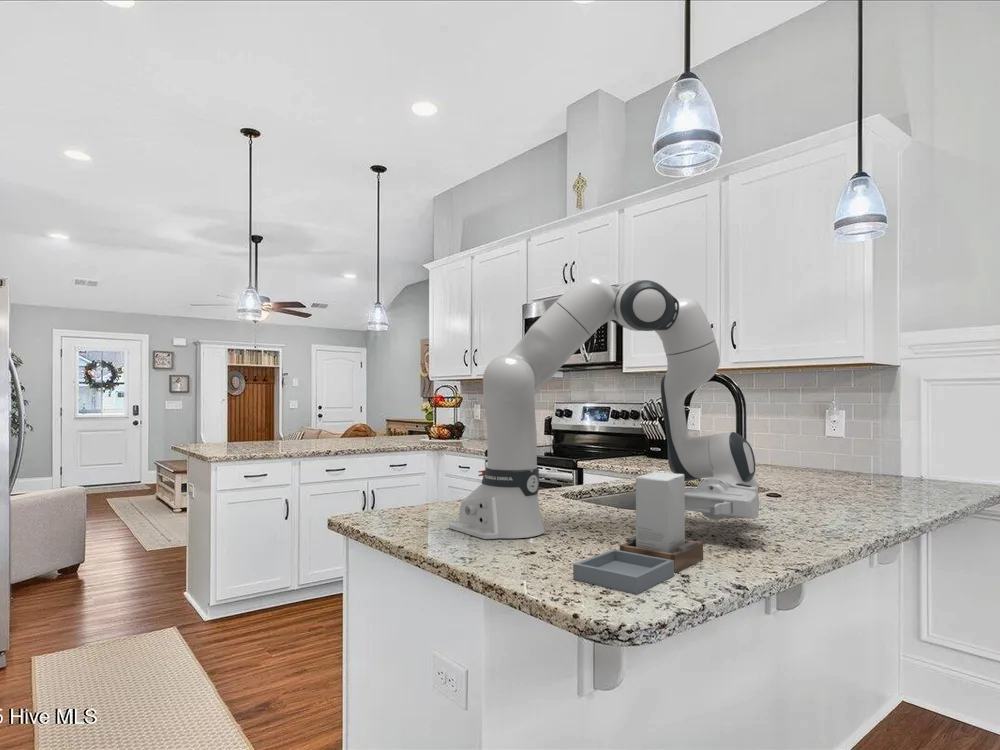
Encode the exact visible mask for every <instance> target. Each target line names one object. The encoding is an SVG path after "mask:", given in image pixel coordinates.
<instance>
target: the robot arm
mask: <svg viewBox="0 0 1000 750" xmlns="http://www.w3.org/2000/svg"><path fill="white" fill-rule="evenodd" d="M608 322H612V323H614V324H616V325H618V326H619V327H622V328H625V329H627V330H629V331H633V332H634V331H635V332H652V331H653V332H655V333H656V335H658V337H659V338H660V341H661V342H662V347H663V349H664V352H665V357H666V362H667V363H666V364H667V370H666V373H665V375H663V376H662V378H661V380H660V397H661V398H660V399H661V405H662V411H663V419H664V427H665V433H666V439H667V461H668V465H669V469H670V471H671V473H675V474H684V482H691V481H697V480H701V479H703V480H702V481H701V482H700V483H698V484H697V486H696V488H695V489H694V488H686V487H684V497H685V511H690V512H698V513H701V514H702V515H703V516H704V517H706V518H708V519H710V520H714V521H720V520H724V519H727V520H729V519H736V518H737V519H747V520H749V519H752V520H753V519H757V518H759V513H760V512H759V510H760V499H759V485H758V482H757V480H756V478H755V477H754V476H755V474H756V460H755V459H756V458H755V454H754V451H753V447H752V446H751V444H750V443H749V442H748V440H746V439H745V438H744V437H743V436H742V435H741V434H739V433H737V432H735V431H730V432H723V433H722V432H721V433H714V434H710V435H703V436H691V435H690V434H689V431H688V425H687V418H686V410H685V400H686V398H687V396H689V395H690V393H693V392H694V391H695V390H697V389H698V388H700V387H701V386H703V385H705V384H706V383H708V382H709V381H710V380H711V379H712V378H713V377H714V376H715V374H716V373H717V371H718V369H719V368H720V367H719V366H720V363H721V357H720V350H719V347H718V343H717V341H716V337H715V335H714V332H713V329H712V326H711V324H710V322H709V319H708V317H707V315H706V313H705V311H704V310H703V308H702V306H701V304H700V302H698V301H697V300H696V299H694V298H690V297H679V298H676V297H675V296H673V295H672V293H670V292H669V291H668V290H667V289H666V288H665V287H664V286H663V285H661V283H660V284H659V283H658V282H655V281H653V280H647V279H645V280H644V279H643V280H641V279H640V280H632V281H629V282H626V283H622V284H619V285H616V286H613V285H611V284H610V283H609V282H608V281H607V280H605V279H604V278H602V277H600V276H597V275H587V276H586V277H584V278H583V279H581V280H580V281H578V282H577V283H575V284H574V285H572V286H571V287H570V288H569V289H567V290H566V291H565V292H564V293H563V294H561V296H560V297H558V299H557V300H556V301H555V302H554V303H552V305H550V306H549V308H548V309H546V311H544V313H543V314H542V315H541V316H540V317H539V318H538V319H537V320H536V321H535V322H534V323H532V325H531V326H530V327H529V329H528V330H527V332H526V333H525V334H524V335H523V336H522V338H521V339H520V340H519V342H518V343H517V344H516V345H515V346H514V348H513V349H512V350H511V351H510V352H509V353H508V354H504V355H500V356H498V357H497V356H496V358H493V360H491V361H490V362H489V363H488V365H487V366H486V367H485V369H484V372H483V375H482V384H483V385H482V386H483V402H484V404H483V405H484V414H485V415H484V416H485V421H486V433H487V434H486V436H487V437H486V438H487V443H486V445H487V447H486V448H487V467H486V468H485V470H478V471H477V472H478V473H480V474H478V477H482V479H481V484H480V485H478V487H477V488H475V489H474V490H473V491H472V492H471V493H470V494H469V495H468V496H466V497H465V498H463V500H462V501H461V503H460V507H459V513H458V515H459V516H458V519H456V520H454V521H451V522H450V523H448V528H449V530H450V529H451V530H454V531H457V532H460V533H462V534H467V535H471V536H473V537H477V538H480V539H482V540H483V539H484V540H493V539H494V540H495V539H523V538H532V537H536V536H540V535H542V534H544V533H546V530H545V526H544V523H543V519H542V518H543V517H542V515H541V514H542V513H541V509H540V508H541V507H540V502H539V501H540V500H539V487H540V469H539V468H538V460H537V459H538V457H537V456H538V455H537V453H538V449H537V448H538V444H537V441H538V439H537V437H538V435H537V434H538V433H537V432H538V431H537V422H536V421H537V420H536V403H535V401H536V399H535V396H536V395H537V394H538V392H540V390H541V389H543V387H544V386H545V385H546V384H547V383H548V382H549V381H550V379H552V378H553V376H555V374H557V372H558V371H559V370H560V369H561V368H562V367H563V365H565V363H566V362H567V361H568V360H570V358H571V357H572V356H573V355H574V354H575V353H576V352H577V351H578V350H579V349H580V348H581V347H582V346H583V345H584V344H585V343H586V342H587V341H588V340H589V339H590V338H591V337H592V336H593V335H594V333H596V332H597V330H598V329H599V328H600V327H602V326H603V325H605V324H606V323H608Z"/></svg>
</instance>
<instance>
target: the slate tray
mask: <svg viewBox="0 0 1000 750" xmlns="http://www.w3.org/2000/svg"><path fill="white" fill-rule="evenodd" d="M572 571H573V573H572V578H573V580H574V581H578V582H583V583H588V584H591V585H595V586H596V585H597V586H601V587H605V588H607V589H611V590H612V589H613V590H617V591H622V592H626V593H629V594H634V595H639V594H641V593H643V592H645V591H647V590H649V589H650V588H653V587H654V586H657V585H659V584H661V583H662V582H664V581H666V580H669V579H670V578H673V577H675V573H674V560H669V559H664V558H658V557H653V556H647V555H642V554H636V553H631V552H626V551H620V549H614V548H613V549H610V550H607V551H605V552H602V553H598V554H596V555H595V556H591V557H588V558H586V559H583V560H580V561H577V562H574V563H573V564H572Z"/></svg>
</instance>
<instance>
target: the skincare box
mask: <svg viewBox="0 0 1000 750" xmlns="http://www.w3.org/2000/svg"><path fill="white" fill-rule="evenodd" d="M684 488H685V481H684V474H675V473H673V472H662V471H653V472H649V473H645V474H641V475H638V476H636V477H635V536H636V547H638V548H644V549H650V550H655V551H661V552H667V553H672V554H673V553H675V552H677V547H679V546H681V545H684V544H685V540H686V526H685V525H686V523H685V520H686V518H685V514H686V512H685V511H686V510H685V497H684Z"/></svg>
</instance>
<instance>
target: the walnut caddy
mask: <svg viewBox="0 0 1000 750" xmlns="http://www.w3.org/2000/svg"><path fill="white" fill-rule="evenodd" d="M619 550H620V551H626V552H631V553H636V554H642V555H647V556H653V557H658V558H664V559H669V560H674V574H676V573H678V572H681V571H682V570H684V569H687V568H689V567H691V566H692V565H694V564H696V563H699V562H701V561H703V560H704V542H701V541H694V540H689V539H685V544H684V545H681V546H679V547H677V552H675V553H673V554H672V553H667V552H661V551H655V550H650V549H644V548H638V547H636V535H635V536H631V537H628V538H626V541H625V543H623V544H620V545H619Z"/></svg>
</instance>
